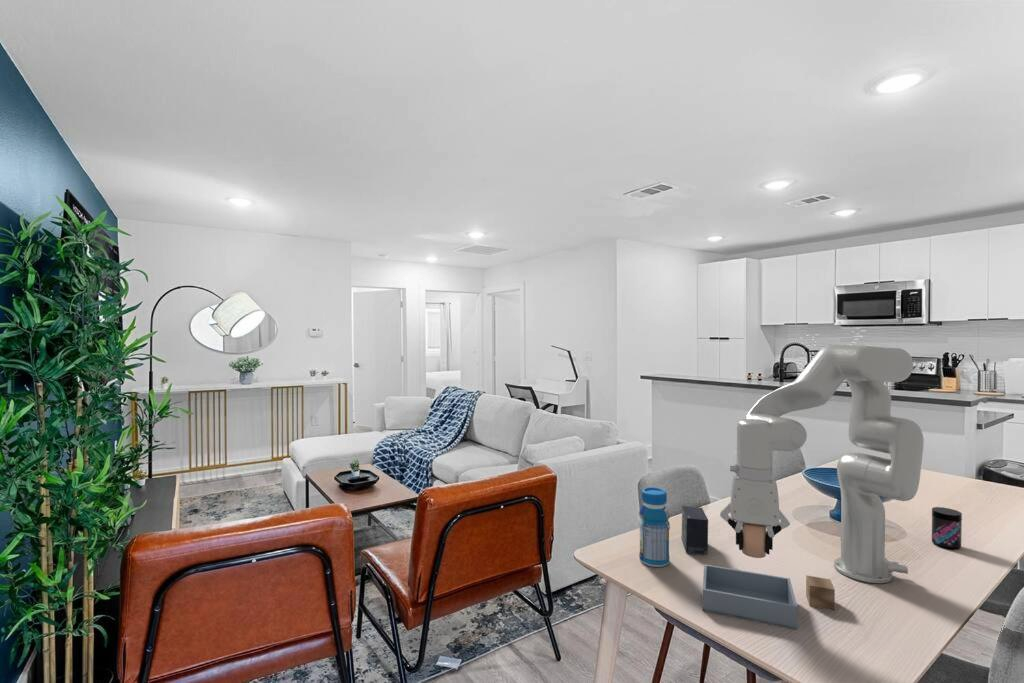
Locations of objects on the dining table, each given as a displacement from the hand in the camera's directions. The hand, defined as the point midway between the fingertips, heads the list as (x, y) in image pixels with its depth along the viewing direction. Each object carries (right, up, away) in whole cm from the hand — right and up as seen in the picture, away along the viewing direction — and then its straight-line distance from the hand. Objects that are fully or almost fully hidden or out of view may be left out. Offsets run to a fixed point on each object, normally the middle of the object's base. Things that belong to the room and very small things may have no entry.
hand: (753, 549), depth 116 cm
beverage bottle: (-17, -13, +23) cm, 32 cm away
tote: (-1, -14, +1) cm, 14 cm away
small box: (-2, -13, +32) cm, 35 cm away
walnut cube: (+17, -14, +2) cm, 21 cm away
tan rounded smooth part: (0, -1, 0) cm, 1 cm away
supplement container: (+72, -12, +31) cm, 80 cm away
